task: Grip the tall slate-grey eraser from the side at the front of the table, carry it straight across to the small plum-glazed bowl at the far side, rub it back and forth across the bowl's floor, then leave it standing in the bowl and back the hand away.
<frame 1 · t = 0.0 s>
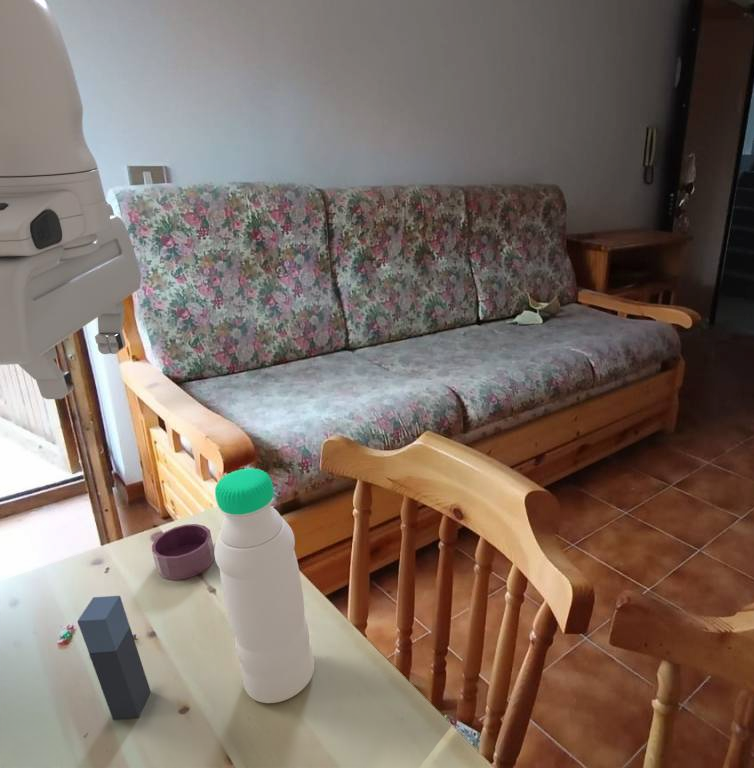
hand: (88, 371, 55), 34 cm above the table, tool pointing down, fingers open, 8 cm apart
water bottle: (280, 678, 67), on the table
bowl: (187, 561, 82), on the table
eraser: (132, 705, 63), on the table
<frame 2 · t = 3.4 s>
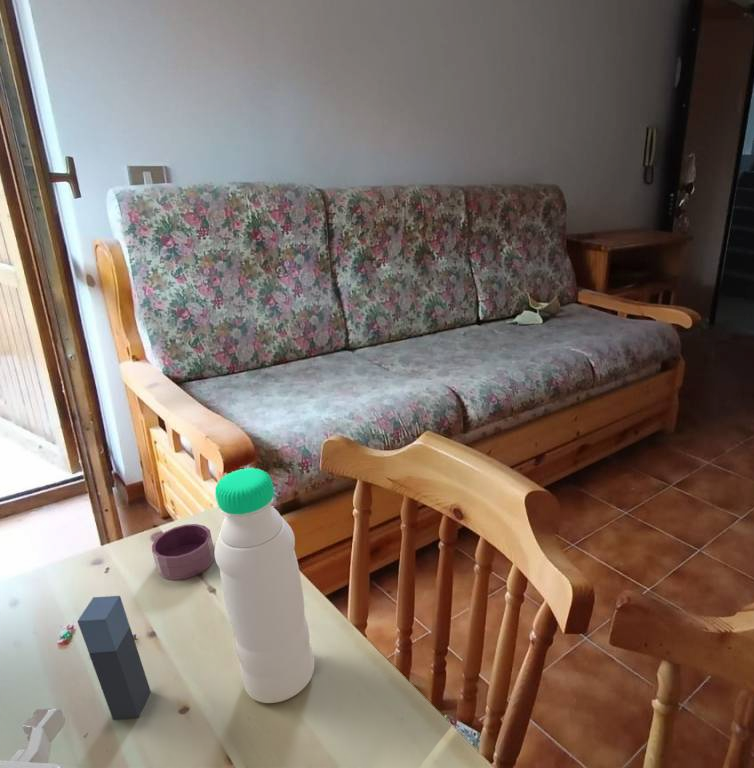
nothing on the table moved.
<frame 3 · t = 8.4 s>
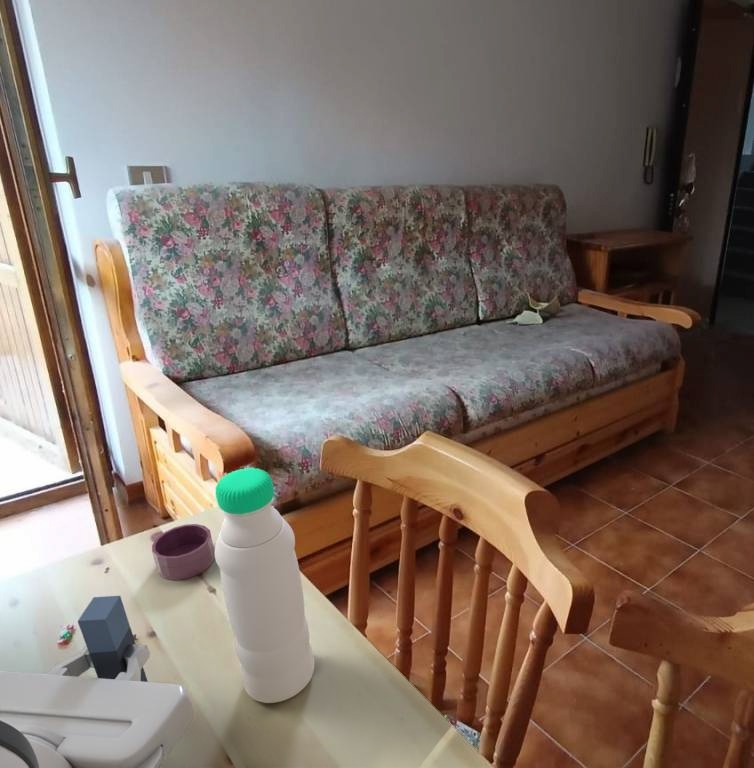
hand: (120, 647, 61), 7 cm above the table, tool horizontal, fingers closed on eraser, 3 cm apart
eraser: (132, 705, 63), on the table, touching gripper
everything else where it was.
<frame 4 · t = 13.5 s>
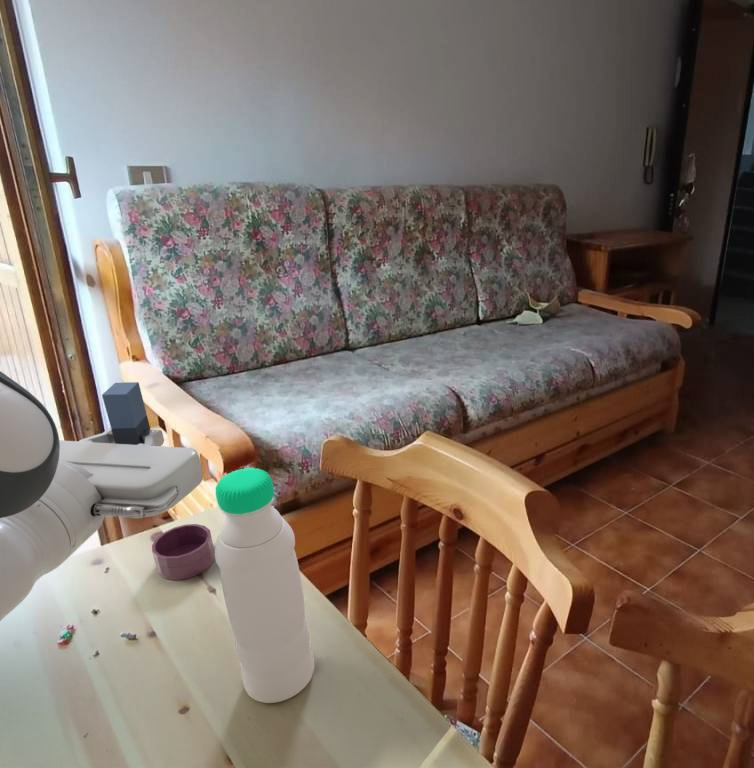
hand: (138, 434, 69), 22 cm above the table, tool horizontal, fingers closed on eraser, 3 cm apart
eraser: (148, 492, 71), point 15 cm above the table, touching gripper
everything else where it was.
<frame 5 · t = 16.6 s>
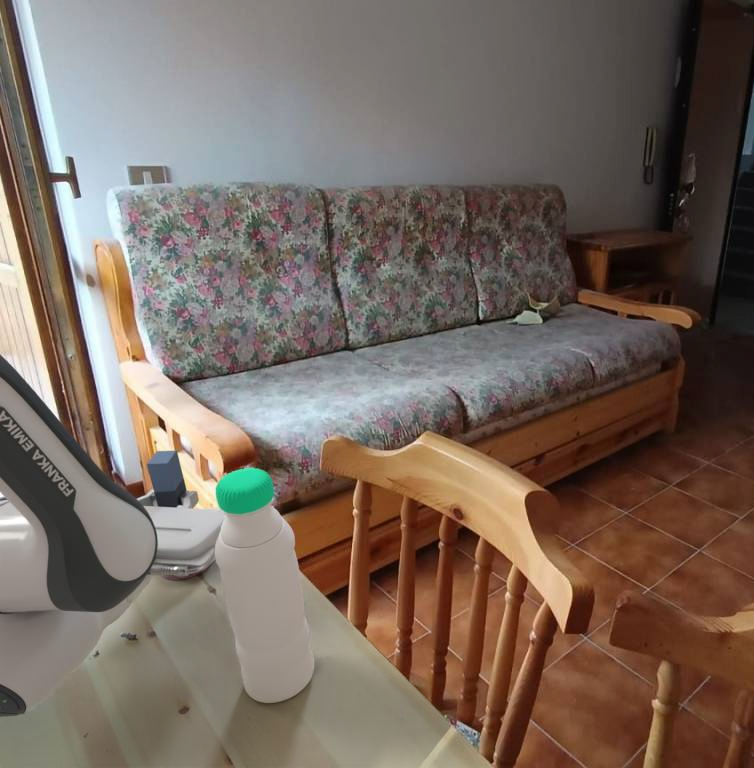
hand: (176, 494, 79), 10 cm above the table, tool horizontal, fingers closed on eraser, 3 cm apart
eraser: (184, 543, 81), point 3 cm above the table, touching gripper
everything else where it was.
when the fingers open (8 cm above the table, at t = 18.8 s): eraser stays where it is, resting on bowl.
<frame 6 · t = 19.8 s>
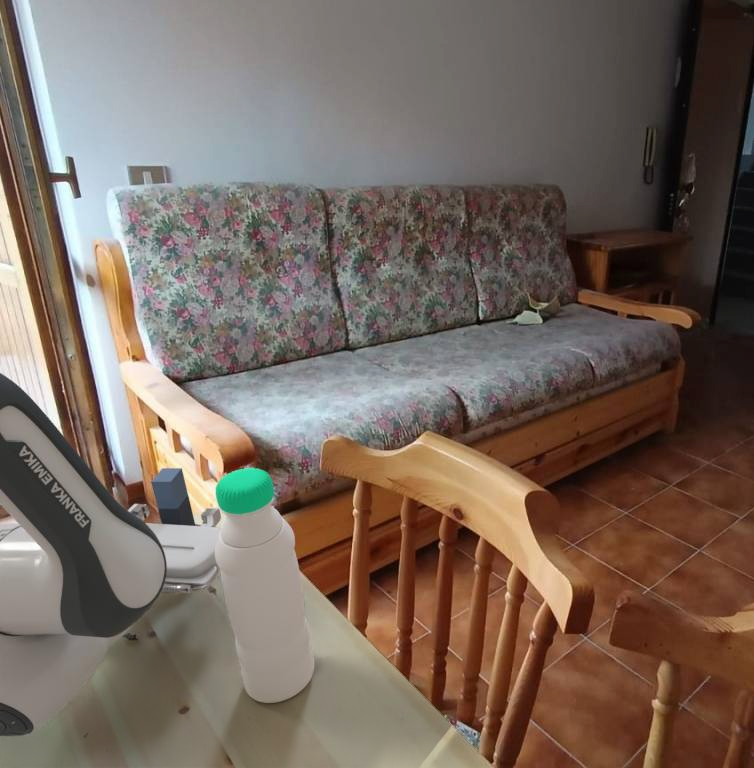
hand: (178, 510, 80), 8 cm above the table, tool horizontal, fingers open, 8 cm apart
eraser: (187, 558, 82), point 1 cm above the table, touching bowl
everything else where it was.
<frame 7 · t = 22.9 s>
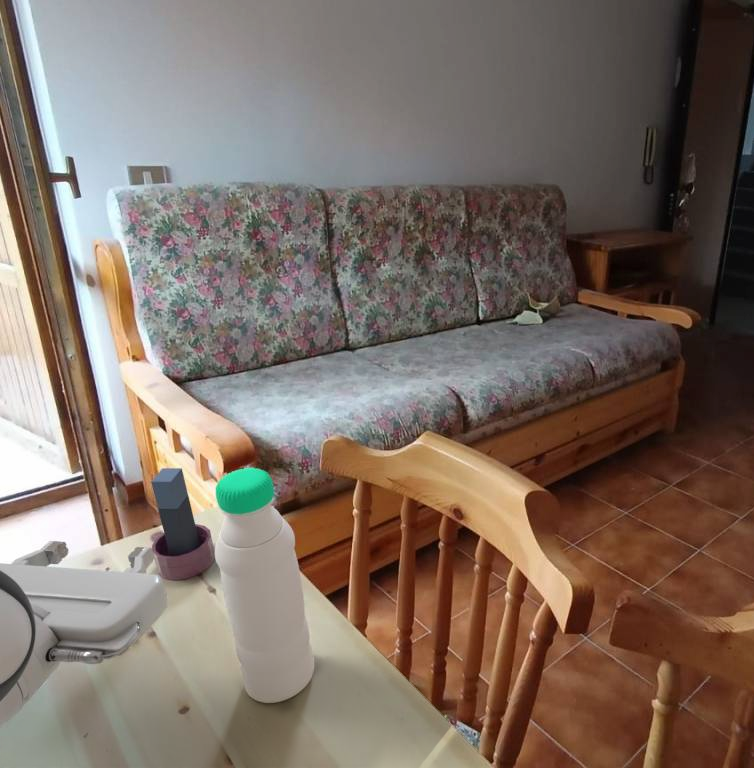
hand: (103, 549, 66), 12 cm above the table, tool horizontal, fingers open, 8 cm apart
nothing on the table moved.
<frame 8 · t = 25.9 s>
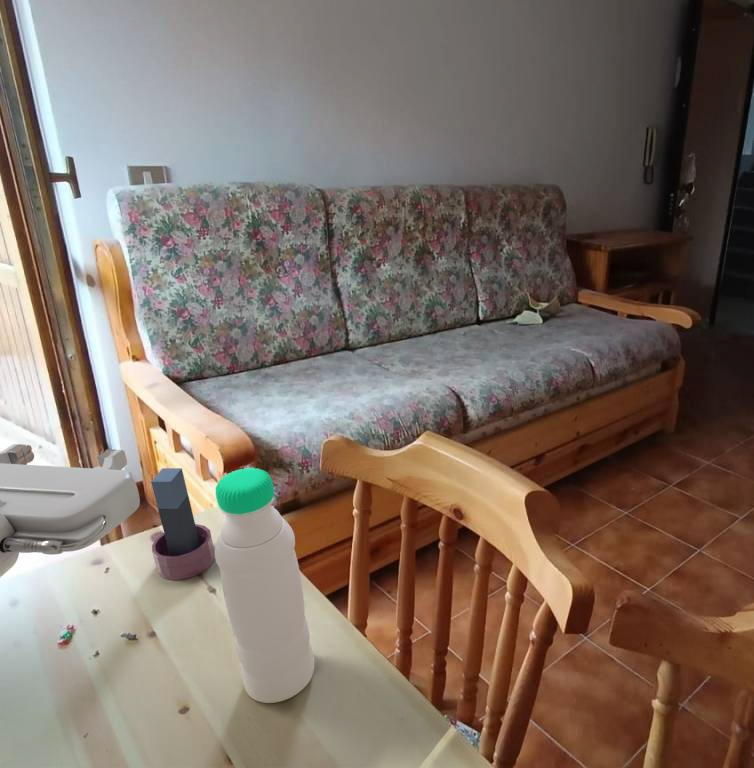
hand: (72, 453, 61), 24 cm above the table, tool horizontal, fingers open, 8 cm apart
nothing on the table moved.
at the end: eraser 0.2 cm off-centre in the bowl, point 0.6 cm above the bowl's base; eraser tilted 0°; the gripper is holding nothing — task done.
